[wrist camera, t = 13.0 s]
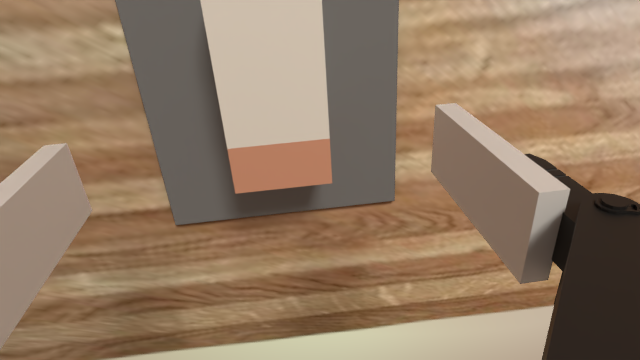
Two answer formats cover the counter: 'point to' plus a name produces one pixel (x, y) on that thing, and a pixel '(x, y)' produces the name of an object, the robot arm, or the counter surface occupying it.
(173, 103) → the mat
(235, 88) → the pink tipped block
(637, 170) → the counter surface
